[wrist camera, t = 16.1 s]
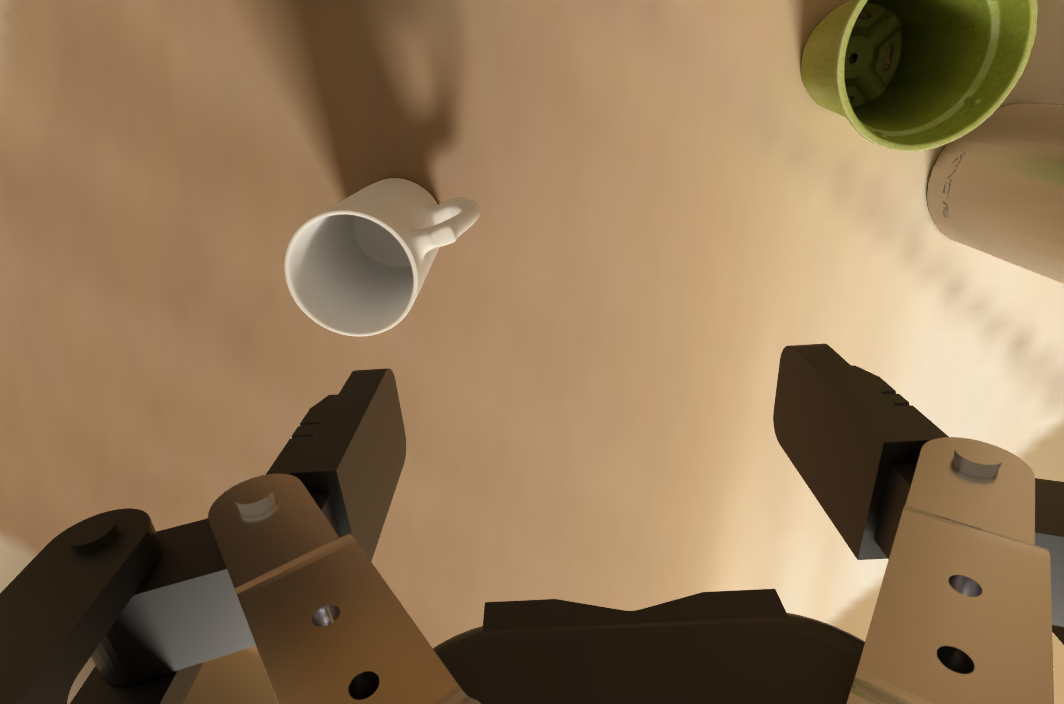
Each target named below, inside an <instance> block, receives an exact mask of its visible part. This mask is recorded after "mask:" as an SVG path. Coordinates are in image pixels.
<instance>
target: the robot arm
mask: <svg viewBox="0 0 1064 704" xmlns="http://www.w3.org/2000/svg"><path fill="white" fill-rule="evenodd" d="M927 201H928V210H929V213H930V215H931V218H932V220H933V222H934V224H935V225H936V226H937V228H938V229H939V230H940V232H942V233H943V234H944V235H946V236H947V237H948V238H950V239H952V240H954V241H957V242H959V243H962V244H964V245H967V246H969V247H972V248H974V249H977V250H980V251H982V252H985V253H987V254H990V255H992V256H994V257H996V258H999V259H1002V260H1004V261H1007V262H1009V263H1012V264H1014V265H1017V266H1020V267H1022V268H1025V269H1027V270H1030V271H1033V272H1035V273H1038V274H1040V275H1043V276H1045V277H1048V278H1051V279H1053V280H1056V281H1058V282H1061V283H1064V105H1053V104H1034V103H1020V104H1009V105H1005V106H1002V107H998V108H997V109H996V111H995V112H994V113H993V114H992V115H991V116H990V117H989V118H987V119H986V120H985V121H984V122H983V123H982V124H980V125H979V126H978V127H976V128H975V129H973V130H972V131H970V132H969V133H967V134H966V135H964V136H962V137H960V138H958V139H956V140H954V141H952V142H950V143H948V144H947V145H946V147H945V148H944V149H943V151H942V152H941V153H940V155H939V157H938V159H937V161H936V163H935V165H934V167H933V170H932V173H931V176H930V179H929V183H928V192H927ZM773 421H774V429H775V434H776V437H777V440H778V442H779V444H780V445H781V447H782V448H783V450H784V451H785V453H786V454H787V456H788V457H789V459H790V460H791V462H792V463H793V465H794V466H795V468H796V469H797V470H798V472H799V473H800V475H801V476H802V478H803V479H804V481H805V482H806V484H807V485H808V487H809V488H810V490H811V491H812V493H813V494H814V496H815V497H816V499H817V500H818V502H819V503H820V505H821V506H822V508H823V509H824V511H825V512H826V514H827V515H828V516H829V518H830V519H831V521H832V522H833V524H834V525H835V527H836V528H837V530H838V531H839V533H840V534H841V536H842V537H843V539H844V540H845V542H846V543H847V545H848V546H849V548H850V549H851V551H852V552H853V554H854V555H855V557H856V558H857V559H858V560H866V559H886V558H888V559H889V561H888V564H887V568H886V571H885V574H884V578H883V581H882V585H881V588H880V592H879V595H878V599H877V603H876V606H875V609H874V613H873V616H872V620H871V623H870V627H869V630H868V634H867V637H866V641H865V642H864V641H863V640H861V639H859V638H857V637H855V636H853V635H852V634H850V633H847V632H845V631H843V630H840V629H838V628H836V627H834V626H832V625H829V624H826V623H823V622H820V621H818V620H815V619H811V618H807V617H803V616H800V615H796V614H790V613H786V611H785V609H784V607H783V605H782V603H781V601H780V598H779V596H778V594H777V592H776V590H775V589H762V590H741V591H719V592H702V593H699V594H695V595H691V596H688V597H684V598H681V599H677V600H673V601H670V602H666V603H663V604H659V605H655V606H652V607H648V608H645V609H641V610H636V611H623V610H617V609H611V608H605V607H599V606H593V605H587V604H581V603H575V602H569V601H563V600H557V599H549V600H528V601H507V602H485V609H484V620H483V626H482V627H478V628H475V629H472V630H469V631H467V632H464V633H462V634H459V635H457V636H454V637H453V638H451V639H449V640H447V641H445V642H443V643H441V644H439V645H438V646H436V647H435V648H432V647H431V646H430V644H429V643H428V641H427V640H426V638H425V637H424V636H423V634H422V633H421V631H420V630H419V629H418V627H417V626H416V624H415V623H414V622H413V620H412V619H411V617H410V616H409V615H408V613H407V612H406V610H405V609H404V607H403V606H402V605H401V603H400V602H399V600H398V599H397V598H396V596H395V595H394V593H393V592H392V591H391V589H390V588H389V586H388V585H387V584H386V582H385V581H384V579H383V578H382V576H381V575H380V574H379V572H378V571H377V569H376V568H375V567H374V565H373V564H372V562H371V561H372V558H373V555H374V552H375V549H376V546H377V543H378V540H379V537H380V534H381V531H382V528H383V525H384V522H385V519H386V516H387V513H388V510H389V507H390V504H391V501H392V498H393V495H394V492H395V489H396V486H397V483H398V480H399V477H400V474H401V471H402V468H403V465H404V461H405V455H406V437H405V430H404V424H403V419H402V414H401V408H400V403H399V398H398V392H397V387H396V381H395V377H394V374H393V372H392V370H391V369H374V370H357V371H353V372H352V373H351V375H350V377H349V378H348V380H347V381H346V383H345V385H344V386H343V388H342V390H341V391H340V393H339V395H328V396H327V397H326V398H324V399H323V400H322V401H320V402H319V403H317V404H316V405H315V406H313V407H312V408H310V410H309V411H308V413H307V414H306V416H305V417H304V419H303V420H302V422H301V423H300V426H299V427H298V428H297V429H296V431H295V432H294V434H293V435H292V439H289V441H288V442H287V444H286V445H285V447H284V448H283V450H282V451H281V453H280V454H279V456H278V457H277V459H276V460H275V462H274V463H273V465H272V466H271V468H270V469H269V471H268V472H267V474H266V475H262V476H258V477H254V478H251V479H248V480H246V481H243V482H241V483H239V484H237V485H235V486H233V487H232V488H230V489H229V490H227V491H226V492H224V493H223V494H222V495H221V496H219V497H218V498H217V500H216V501H215V502H214V503H213V504H212V506H211V508H210V510H209V513H208V518H207V519H204V520H200V521H196V522H193V523H189V524H185V525H181V526H177V527H173V528H169V529H165V530H161V531H157V532H156V531H155V529H154V526H153V524H152V522H151V519H150V517H149V516H148V514H147V513H145V512H144V511H142V510H138V509H118V510H113V511H108V512H104V513H101V514H98V515H95V516H93V517H90V518H87V519H85V520H83V521H81V522H79V523H77V524H75V525H73V526H72V527H70V528H68V529H67V530H65V531H64V532H62V533H61V534H59V535H58V536H57V537H55V538H54V539H53V540H52V541H51V542H50V543H49V544H48V545H47V546H46V547H45V548H44V549H43V550H42V551H41V552H40V553H39V554H38V555H37V556H36V557H35V558H34V559H33V560H32V561H31V562H30V563H29V564H28V565H27V566H26V567H25V568H24V569H23V570H22V572H21V573H20V574H19V575H18V576H17V577H16V578H15V579H14V580H13V581H12V582H11V583H10V584H9V585H8V586H7V587H6V588H5V589H4V590H3V591H2V592H1V593H0V704H67V699H68V695H69V692H70V689H71V686H72V684H73V682H74V680H75V679H76V677H77V675H78V674H79V672H80V671H81V670H82V668H83V667H84V665H85V664H86V662H87V661H88V659H89V658H90V657H91V658H92V659H93V661H94V663H95V665H96V666H95V668H94V669H93V671H92V672H91V674H90V675H89V677H88V678H87V680H86V681H85V682H84V684H83V685H82V687H81V688H80V690H79V691H78V693H77V694H76V696H75V697H74V699H73V700H72V701H71V703H70V704H183V702H184V700H185V698H186V696H187V694H188V692H189V690H190V688H191V686H192V684H193V682H194V680H195V678H196V676H197V674H198V672H199V670H200V668H201V666H202V664H203V662H206V661H209V660H212V659H215V658H218V657H221V656H225V655H228V654H231V653H234V652H237V651H240V650H243V649H247V648H250V647H253V646H256V647H257V649H258V652H259V655H260V657H261V660H262V662H263V665H264V667H265V670H266V673H267V676H268V678H269V680H270V683H271V686H272V688H273V691H274V694H275V696H276V699H277V702H278V704H1054V690H1053V689H1054V688H1053V687H1054V686H1053V647H1052V632H1053V633H1054V634H1055V635H1056V636H1057V637H1058V639H1059V640H1060V641H1061V642H1062V643H1063V644H1064V482H1059V481H1052V480H1044V479H1037V478H1035V475H1034V473H1033V471H1032V469H1031V468H1030V467H1029V466H1028V464H1026V463H1025V462H1024V461H1023V460H1022V459H1020V458H1019V457H1017V456H1016V455H1014V454H1012V453H1010V452H1008V451H1006V450H1004V449H1002V448H999V447H997V446H994V445H991V444H988V443H985V442H981V441H977V440H972V439H966V438H957V437H948V436H947V435H946V434H945V433H944V432H943V431H941V430H940V429H939V428H938V427H937V426H936V425H934V424H933V423H932V422H931V421H930V420H929V419H927V418H926V417H925V416H924V415H923V414H922V413H921V412H919V411H918V410H917V409H916V408H915V407H914V406H909V402H908V401H907V400H905V399H904V398H903V397H902V396H901V395H900V394H896V391H895V390H894V389H893V388H892V387H890V386H889V385H888V384H887V383H886V382H885V381H883V380H882V379H881V378H880V377H878V376H876V375H874V374H872V373H870V372H868V371H865V370H863V369H861V368H859V367H857V366H851V365H850V364H848V363H847V362H846V361H845V360H844V359H843V358H842V357H841V356H840V355H839V354H837V353H836V352H835V351H834V350H833V349H832V348H831V347H830V346H828V345H827V344H812V345H795V346H786V347H785V348H784V349H783V351H782V354H781V358H780V365H779V373H778V381H777V389H776V397H775V405H774V415H773Z"/></svg>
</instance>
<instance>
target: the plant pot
mask: <svg viewBox="0 0 1064 704" xmlns="http://www.w3.org/2000/svg"><path fill="white" fill-rule="evenodd" d="M861 11H866V12H868V13H870V15H871V16H870V18H868V19H867V18H859V17H858V15H859V14H860V12H861ZM1037 17H1038V4H1037V0H850V1H848V2H846V3H844V4H843V5H841V6H839V7H837V8H836V9H834V10H833V11H831V12H830V13H829V14H828V15H827V16H826V17H825V18H824V19H823V20H822V21H821V22H820V23H819V24H818V25H817V26H816V27H815V29H814V30H813V31H812V33H811V35H810V36H809V38H808V40H807V43H806V45H805V48H804V51H803V55H802V62H801V75H802V81H803V84H804V86H805V88H806V90H807V91H808V93H809V94H810V96H811V97H812V98H813V100H814V101H815V102H816V103H817V104H819V105H820V106H822V107H824V108H826V109H828V110H831V111H833V112H835V113H838V114H840V115H842V116H845V117H847V119H848V120H849V122H850V124H851V125H852V126H853V127H854V128H855V130H856V131H857V132H858V133H859V134H861V135H862V136H863V137H864V138H866V139H867V140H869V141H870V142H872V143H874V144H876V145H879V146H881V147H884V148H888V149H892V150H897V151H907V152H912V151H923V150H928V149H933V148H937V147H939V146H942V145H945V144H947V143H950V142H952V141H954V140H956V139H958V138H960V137H962V136H964V135H966V134H967V133H969V132H970V131H972V130H973V129H975V128H976V127H978V126H979V125H980V124H982V123H983V122H984V121H985V120H986V119H987V118H989V117H990V116H991V115H992V114H993V113H994V112H995V111H996V109H997V108H998V107H999V106H1000V105H1001V104H1002V103H1003V101H1004V100H1005V99H1006V97H1007V96H1008V95H1009V93H1010V92H1011V91H1012V89H1013V88H1014V87H1015V85H1016V83H1017V82H1018V80H1019V78H1020V77H1021V75H1022V73H1023V71H1024V69H1025V67H1026V64H1027V62H1028V59H1029V57H1030V54H1031V49H1032V47H1033V44H1034V41H1035V36H1036V31H1037ZM889 45H891V46H892V47H893V52H892V61H891V64H890V66H889V68H888V69H886V70H885V69H884V68H883V67H884V65H885V60H886V57H887V52H888V46H889ZM853 53H855V54H857V60H856V61H855V62H854V63H851V62H850V61H849V58H850V56H851V54H853ZM852 96H854V99H852V100H851V101H849V99H848V97H852Z"/></svg>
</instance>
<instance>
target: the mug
mask: <svg viewBox="0 0 1064 704" xmlns="http://www.w3.org/2000/svg"><path fill="white" fill-rule="evenodd" d="M479 216H480V208H479V206H478V205H477V203H475V202H474V201H471V200H468V199H464V198H462V197H458V198H454V199H451V200H449V201H446V202H444V203H441V204H437V202H436V201H435V199H434V198H433V197H432V196H431V194H430V193H429V192H428V191H426V190H425V189H424V188H423V187H421V186H420V185H418V184H416V183H414V182H412V181H409V180H405V179H399V178H389V179H384V180H380V181H378V182H375V183H373V184H371V185H369V186H367V187H365V188H363V189H361V190H360V191H358V192H356V193H355V194H353V195H351V196H349V197H347V198H345V199H344V200H342V201H340V202H338V203H336V204H334V205H333V206H331V207H329V208H327V209H325V210H324V211H322V212H320V213H319V214H317V215H316V216H314V217H313V218H311V219H309V220H308V221H306V222H305V223H304V224H303V225H302V226H301V227H300V228H299V229H298V230H297V231H296V232H295V234H294V235H293V237H292V239H291V240H290V242H289V245H288V248H287V251H286V255H285V277H286V281H287V285H288V288H289V290H290V293H291V295H292V297H293V299H294V300H295V302H296V303H297V305H298V306H299V307H300V308H301V310H302V311H303V312H304V313H305V314H306V315H307V316H308V317H310V318H311V319H312V320H313V321H315V322H316V323H318V324H319V325H321V326H323V327H324V328H326V329H328V330H331V331H333V332H336V333H339V334H343V335H348V336H370V335H375V334H379V333H382V332H384V331H386V330H388V329H390V328H392V327H394V326H395V325H396V324H398V323H399V322H400V321H401V320H402V319H403V318H404V317H405V316H406V315H407V313H408V312H409V310H410V309H411V307H412V305H413V303H414V301H415V299H416V297H417V295H418V293H419V291H420V289H421V287H422V284H423V282H424V280H425V278H426V275H427V273H428V271H429V269H430V267H431V264H432V262H433V260H434V258H435V256H436V254H437V251H438V249H439V247H441V246H445V245H448V244H450V243H453V242H455V241H456V238H458V237H459V236H460V235H461V234H462V233H464V232H465V231H466V230H467V229H468V228H469V227H470V226H471V225H473V224H474V222H475V221H476V220H477V219H478V218H479Z"/></svg>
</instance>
